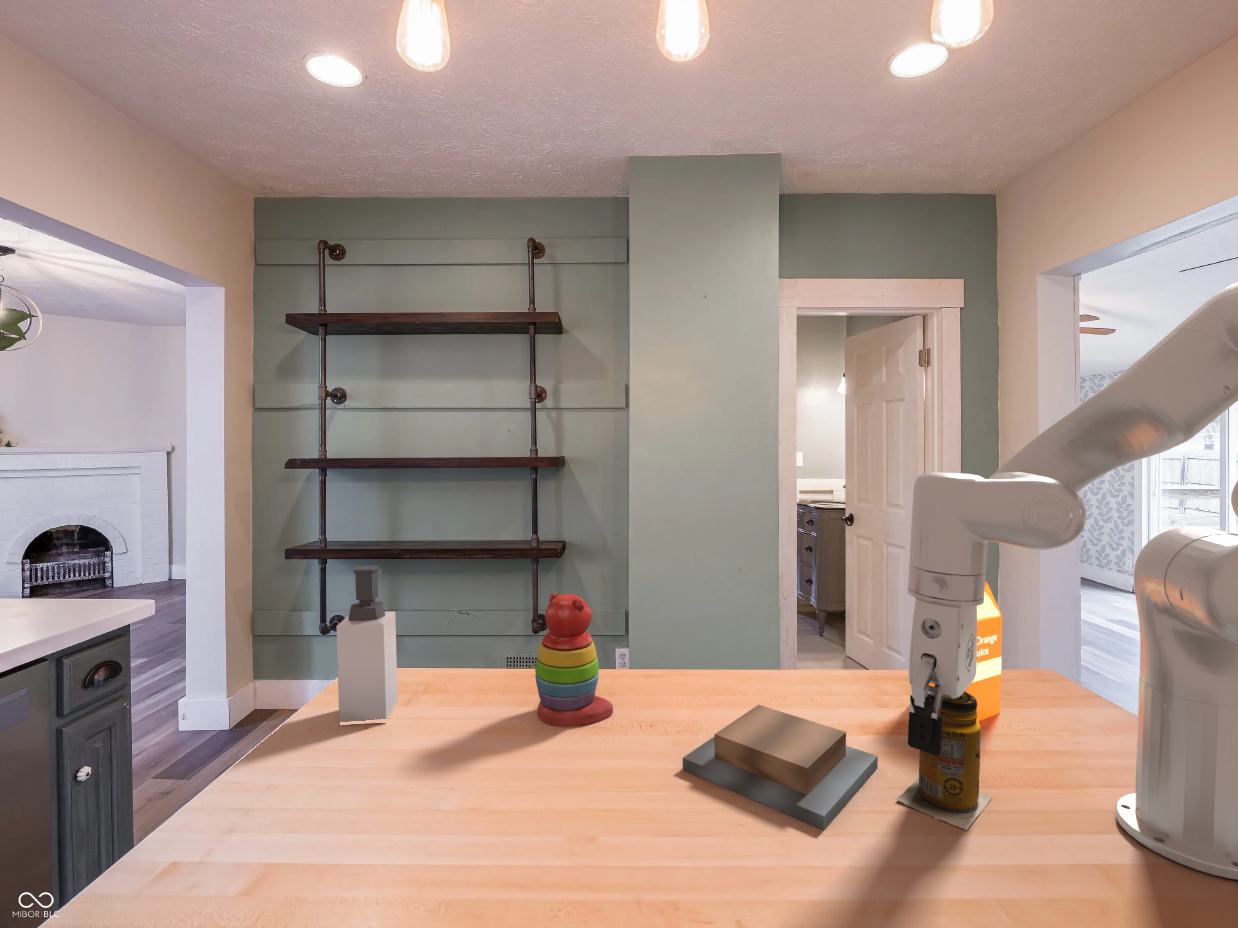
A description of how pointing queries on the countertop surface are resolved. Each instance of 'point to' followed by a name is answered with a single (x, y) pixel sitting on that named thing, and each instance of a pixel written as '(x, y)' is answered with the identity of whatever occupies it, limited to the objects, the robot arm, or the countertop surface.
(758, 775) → the plinth
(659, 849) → the countertop surface
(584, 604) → the stacking bear
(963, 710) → the condiment
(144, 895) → the countertop surface
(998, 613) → the orange juice
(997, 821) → the countertop surface
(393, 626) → the soap dispenser
